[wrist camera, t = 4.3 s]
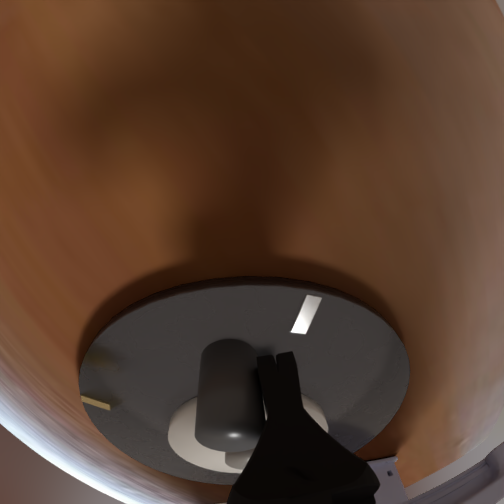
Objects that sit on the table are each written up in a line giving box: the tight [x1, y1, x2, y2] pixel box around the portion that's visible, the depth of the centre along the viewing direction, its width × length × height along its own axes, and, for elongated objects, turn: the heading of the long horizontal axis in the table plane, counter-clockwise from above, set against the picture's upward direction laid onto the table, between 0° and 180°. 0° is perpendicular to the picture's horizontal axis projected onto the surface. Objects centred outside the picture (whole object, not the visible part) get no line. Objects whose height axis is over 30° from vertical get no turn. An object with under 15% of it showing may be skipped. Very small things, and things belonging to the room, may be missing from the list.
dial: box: [168, 339, 328, 473], centre depth 13 cm, size 14×10×5 cm
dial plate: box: [79, 276, 410, 485], centre depth 16 cm, size 22×22×1 cm
